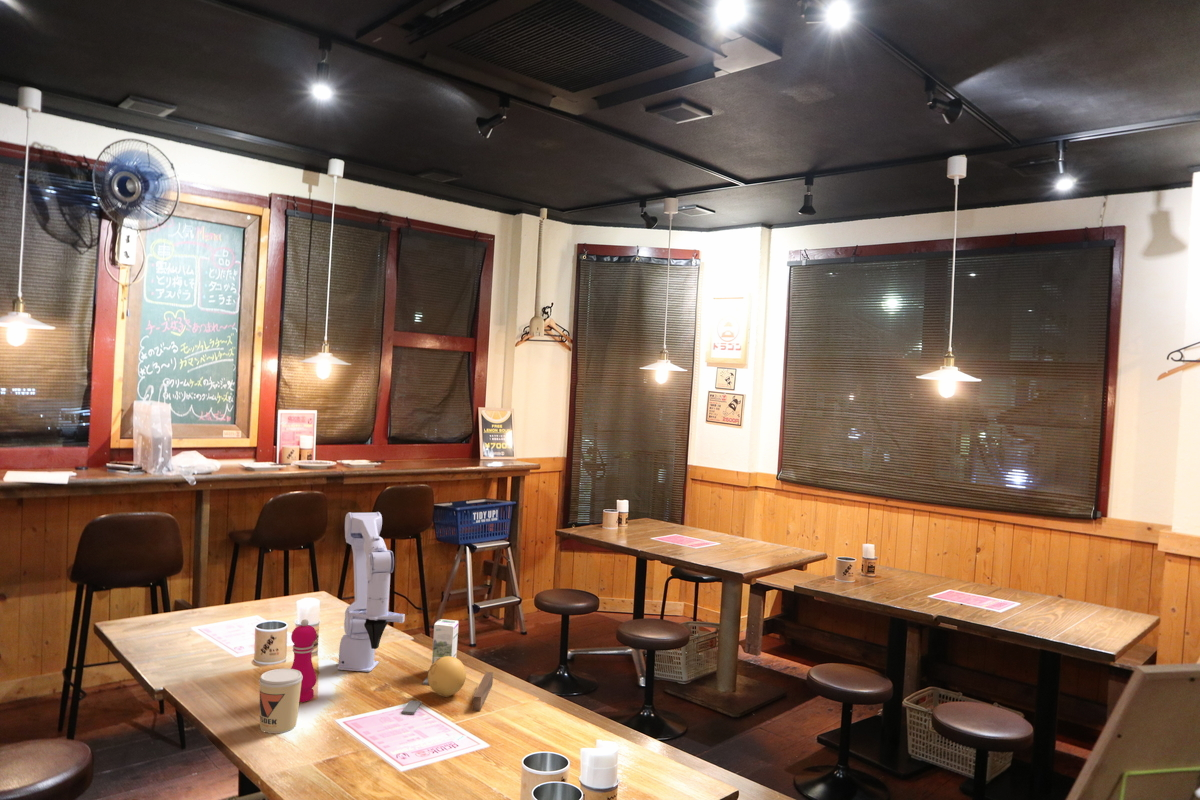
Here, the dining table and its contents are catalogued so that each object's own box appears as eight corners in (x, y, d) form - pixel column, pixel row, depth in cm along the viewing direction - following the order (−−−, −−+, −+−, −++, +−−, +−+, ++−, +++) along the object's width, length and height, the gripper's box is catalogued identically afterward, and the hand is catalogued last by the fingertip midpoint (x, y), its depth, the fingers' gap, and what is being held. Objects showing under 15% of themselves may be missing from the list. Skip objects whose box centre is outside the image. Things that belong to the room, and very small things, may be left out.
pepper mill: (305, 705, 193) (309, 624, 194) (278, 701, 195) (283, 621, 195) (321, 695, 201) (325, 617, 201) (295, 691, 202) (300, 614, 202)
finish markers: (401, 713, 192) (402, 711, 192) (426, 679, 216) (426, 677, 216) (413, 714, 192) (414, 712, 192) (437, 679, 216) (437, 677, 216)
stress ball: (468, 698, 206) (464, 664, 213) (467, 679, 200) (462, 645, 207) (430, 706, 204) (427, 671, 211) (427, 687, 197) (424, 652, 205)
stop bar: (472, 710, 196) (473, 696, 196) (485, 684, 214) (485, 671, 214) (480, 710, 196) (481, 697, 196) (492, 685, 214) (493, 672, 214)
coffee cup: (247, 728, 179) (250, 676, 179) (281, 715, 187) (283, 665, 187) (275, 738, 174) (278, 685, 174) (308, 724, 183) (311, 673, 183)
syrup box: (456, 670, 224) (459, 619, 224) (450, 677, 218) (453, 625, 219) (437, 668, 225) (440, 618, 225) (430, 675, 219) (433, 623, 219)
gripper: (345, 598, 205) (342, 650, 204) (400, 602, 204) (397, 654, 204) (355, 592, 212) (352, 642, 212) (408, 595, 211) (405, 645, 211)
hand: (375, 647), depth 208 cm, fingers closed
